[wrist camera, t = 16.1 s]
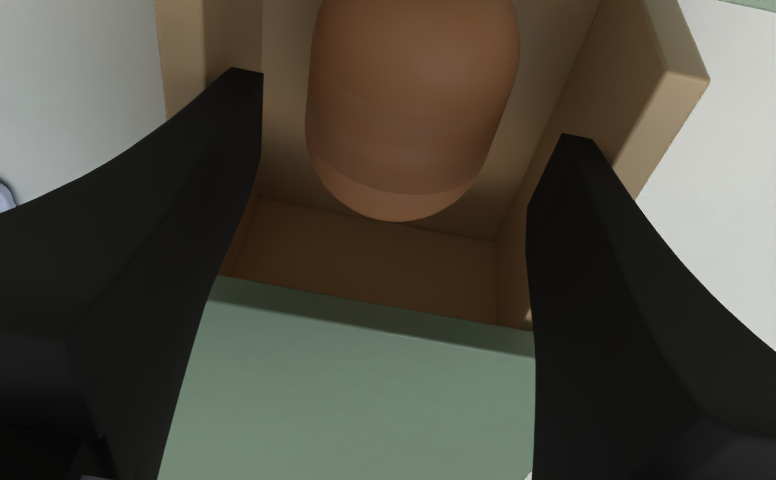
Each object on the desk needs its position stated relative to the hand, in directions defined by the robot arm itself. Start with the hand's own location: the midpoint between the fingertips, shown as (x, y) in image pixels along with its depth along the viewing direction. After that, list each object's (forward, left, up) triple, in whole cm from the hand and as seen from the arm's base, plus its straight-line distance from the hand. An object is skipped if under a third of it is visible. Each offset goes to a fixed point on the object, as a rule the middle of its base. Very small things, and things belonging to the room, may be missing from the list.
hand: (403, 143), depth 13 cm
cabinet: (0, -11, -6) cm, 12 cm away
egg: (0, 0, -2) cm, 2 cm away
